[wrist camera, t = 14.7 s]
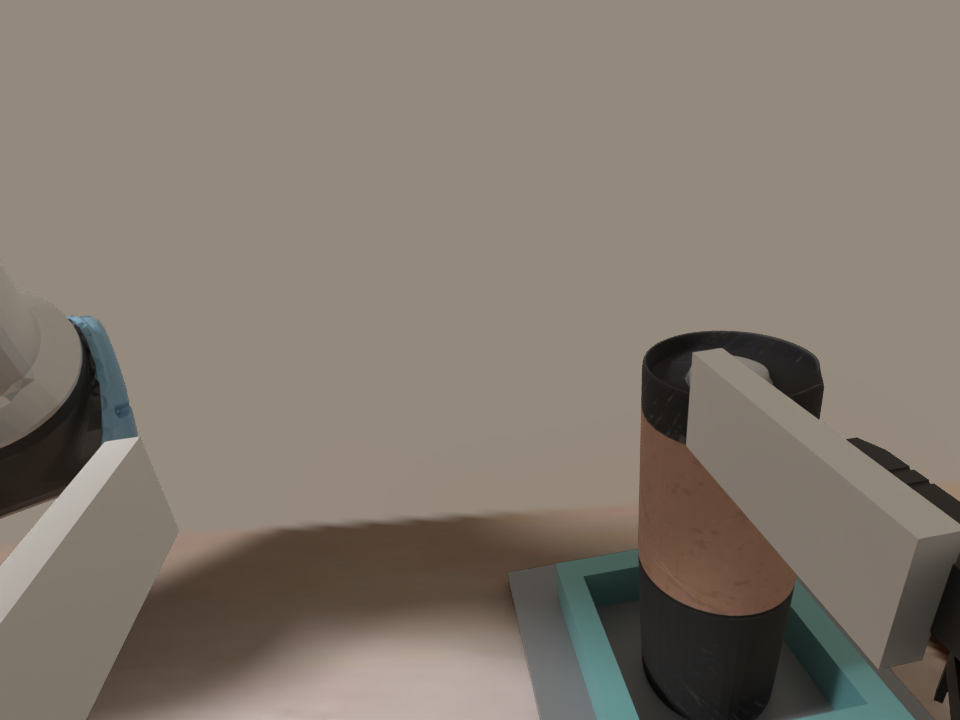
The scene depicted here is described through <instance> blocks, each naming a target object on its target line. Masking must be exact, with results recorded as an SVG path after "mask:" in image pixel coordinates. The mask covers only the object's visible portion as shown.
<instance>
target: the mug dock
mask: <svg viewBox="0 0 960 720" xmlns="http://www.w3.org/2000/svg"><path fill="white" fill-rule="evenodd" d="M508 579H509V585H510V590H511V594H512V599H513V603H514V607H515V612H516V616H517V621H518V625H519V629H520V634H521V638H522V643H523V647H524V651H525V656H526V660H527V665H528V669H529V673H530V678H531V682H532V687H533V691H534V695H535V700H536V704H537V709H538V713H539V717H540V720H688V719H686V718H684V717H682V716H680V715H679V714H677V713H676V712H674V711H673V710H671V709H670V708H669V707H668V706H666V705H665V704H664V703H663V702H662V701H661V700H660V699H659V697H658V696H657V695H656V694H655V692H654V691H653V689H652V688H651V686H650V684H649V682H648V680H647V678H646V675H645V672H644V669H643V664H642V652H641V626H640V594H639V562H638V549H635V550H630V551H624V552H618V553H613V554H607V555H601V556H596V557H590V558H585V559H579V560H573V561H568V562H562V563H556V564H552V565H546V566H541V567H535V568H529V569H524V570H518V571H513V572H508ZM754 720H935V719H934V718H933V717H932V716H931V715H930V714H929V712H928V711H927V710H926V709H925V708H924V707H923V706H922V704H921V703H920V702H919V701H918V700H917V699H916V698H915V697H914V695H913V694H912V693H911V692H910V691H909V690H908V689H907V687H906V686H905V685H904V684H903V683H902V682H901V681H900V679H899V678H898V677H897V676H896V675H895V674H894V673H893V672H892V670H891V669H890V668H889V667H888V668H883V669H878V668H877V667H876V666H875V665H874V664H873V662H872V661H871V660H870V659H869V658H868V657H867V655H866V654H865V653H864V652H863V651H862V650H861V648H860V647H859V646H858V645H857V644H856V643H855V641H854V640H853V639H852V638H851V637H850V636H849V635H848V633H847V632H846V631H845V630H844V629H843V628H842V626H841V625H840V624H839V623H838V622H837V621H836V619H835V618H834V617H833V616H832V615H831V614H830V612H829V611H828V610H827V609H826V608H825V607H824V606H823V604H822V603H821V602H820V601H819V600H818V599H817V597H816V596H815V595H814V594H813V593H812V592H811V590H810V589H809V588H808V587H807V586H806V585H805V583H804V582H803V581H802V580H801V579H800V578H799V576H798V575H796V581H795V587H794V591H793V596H792V601H791V605H790V610H789V615H788V620H787V624H786V629H785V634H784V639H783V643H782V648H781V653H780V657H779V662H778V667H777V672H776V676H775V680H774V685H773V689H772V693H771V696H770V700H769V702H768V704H767V706H766V707H765V709H764V710H763V712H762V713H761V714H760V715H759V716H758V717H757V718H755V719H754Z"/></svg>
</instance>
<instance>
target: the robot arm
mask: <svg viewBox="0 0 960 720" xmlns="http://www.w3.org/2000/svg"><path fill="white" fill-rule="evenodd" d="M686 446H687V448H688V449H689V450H690V451H691V452H692V453H693V455H694V456H695V457H696V458H697V459H698V460H699V462H700V463H701V464H702V465H703V466H704V467H705V469H706V470H707V471H708V472H709V473H710V474H711V475H712V477H713V478H714V479H715V480H716V481H717V482H718V484H719V485H720V486H721V487H722V488H723V489H724V491H725V492H726V493H727V494H728V495H729V496H730V498H731V499H732V500H733V501H734V502H735V503H736V504H737V506H738V507H739V508H740V509H741V510H742V511H743V513H744V514H745V515H746V516H747V517H748V518H749V520H750V521H751V522H752V523H753V524H754V525H755V527H756V528H757V529H758V530H759V531H760V532H761V534H762V535H763V536H764V537H765V538H766V539H767V540H768V542H769V543H770V544H771V545H772V546H773V547H774V549H775V550H776V551H777V552H778V553H779V554H780V556H781V557H782V558H783V559H784V560H785V561H786V563H787V564H788V565H789V566H790V567H791V568H792V570H793V571H794V572H795V573H796V574H797V575H798V576H799V578H800V579H801V580H802V581H803V582H804V583H805V585H806V586H807V587H808V588H809V589H810V590H811V592H812V593H813V594H814V595H815V596H816V597H817V599H818V600H819V601H820V602H821V603H822V604H823V606H824V607H825V608H826V609H827V610H828V611H829V612H830V614H831V615H832V616H833V617H834V618H835V619H836V621H837V622H838V623H839V624H840V625H841V626H842V628H843V629H844V630H845V631H846V632H847V633H848V635H849V636H850V637H851V638H852V639H853V640H854V641H855V643H856V644H857V645H858V646H859V647H860V648H861V650H862V651H863V652H864V653H865V654H866V655H867V657H868V658H869V659H870V660H871V661H872V662H873V664H874V665H875V666H876V667H877V668H878V669H883V668H888V667H892V666H897V665H902V664H907V663H911V662H916V661H921V660H922V658H923V655H924V653H925V650H926V647H927V644H928V641H929V638H930V635H931V634H932V635H933V636H934V637H936V638H937V639H938V640H939V641H940V642H941V643H942V644H943V645H944V646H945V647H946V648H947V649H948V650H949V651H950V655H949V657H948V660H947V662H946V665H945V668H944V670H943V673H942V676H941V678H940V681H939V684H938V686H937V689H936V693H935V697H934V700H935V701H938V702H940V703H943V701H944V698H945V696H946V693H947V692H948V695H949V705H950V714H951V720H960V502H959V501H958V500H957V499H955V498H954V497H952V496H951V495H949V494H948V493H947V492H945V491H944V490H942V489H941V488H939V487H938V486H937V485H935V484H930V483H929V480H928V479H927V478H925V477H924V476H922V475H921V474H919V473H918V472H917V471H915V470H910V468H909V466H908V465H907V464H905V463H904V462H902V461H901V460H900V459H898V458H897V457H895V456H894V455H892V454H891V453H890V452H888V451H886V450H885V449H882V448H880V447H878V446H875V445H873V444H871V443H868V442H866V441H863V440H861V439H859V438H851V439H844V438H843V437H841V436H840V435H839V434H838V433H836V432H835V431H833V430H832V429H831V428H829V427H828V426H827V425H825V424H824V423H823V422H821V421H820V420H819V419H817V418H816V417H815V416H813V415H812V414H811V413H809V412H808V411H806V410H805V409H804V408H802V407H801V406H800V405H798V404H797V403H796V402H794V401H793V400H792V399H790V398H789V397H788V396H786V395H785V394H784V393H782V392H781V391H779V390H778V389H777V388H775V387H774V386H773V385H771V384H770V383H769V382H767V381H766V380H765V379H763V378H762V377H761V376H759V375H758V374H756V373H755V372H754V371H752V370H751V369H750V368H748V367H747V366H746V365H744V364H743V363H742V362H740V361H739V360H738V359H736V358H735V357H734V356H732V355H731V354H729V353H728V352H727V351H725V350H724V349H723V348H718V349H712V350H705V351H699V352H693V354H692V368H691V382H690V396H689V410H688V424H687V438H686ZM55 498H57V499H56V501H55V502H54V503H53V504H52V505H51V506H50V508H49V509H48V510H47V511H46V512H45V514H44V515H43V516H42V517H41V519H40V520H39V521H38V522H37V523H36V524H35V525H34V527H33V528H32V529H31V530H30V531H29V533H28V534H27V535H26V536H25V537H24V539H23V540H22V541H21V542H20V543H19V545H18V546H17V547H16V548H15V549H14V550H13V552H12V553H11V554H10V555H9V556H8V558H7V559H6V560H5V561H4V562H3V564H2V565H1V566H0V720H86V719H87V717H88V715H89V713H90V711H91V709H92V707H93V705H94V703H95V701H96V699H97V697H98V695H99V693H100V691H101V689H102V687H103V685H104V682H105V680H106V678H107V676H108V674H109V672H110V670H111V668H112V666H113V664H114V662H115V660H116V658H117V656H118V654H119V652H120V650H121V648H122V646H123V644H124V642H125V640H126V638H127V636H128V634H129V632H130V630H131V628H132V626H133V624H134V621H135V619H136V617H137V615H138V613H139V611H140V609H141V607H142V605H143V603H144V601H145V599H146V597H147V595H148V593H149V591H150V589H151V587H152V585H153V583H154V581H155V579H156V577H157V575H158V573H159V571H160V569H161V567H162V565H163V563H164V560H165V558H166V556H167V554H168V552H169V550H170V548H171V546H172V544H173V542H174V540H175V538H176V536H177V534H178V532H179V529H178V527H177V524H176V522H175V519H174V517H173V515H172V512H171V510H170V507H169V505H168V502H167V500H166V498H165V495H164V493H163V491H162V489H161V486H160V483H159V481H158V478H157V476H156V474H155V471H154V469H153V466H152V464H151V461H150V459H149V457H148V454H147V452H146V449H145V447H144V445H143V442H142V440H141V437H138V432H137V428H136V423H135V419H134V416H133V412H132V409H131V407H130V406H129V399H128V395H127V389H126V386H125V382H124V379H123V376H122V373H121V370H120V367H119V364H118V361H117V358H116V355H115V352H114V350H113V347H112V344H111V342H110V339H109V337H108V335H107V333H106V330H105V328H104V326H103V325H102V324H101V322H100V321H99V320H97V319H95V318H93V317H91V316H82V317H76V316H67V317H66V316H65V315H64V314H63V312H62V311H60V310H59V309H58V308H57V307H55V306H54V305H53V304H51V303H49V302H48V301H46V300H44V299H42V298H40V297H38V296H35V295H33V294H31V293H28V292H24V291H21V290H18V289H17V287H16V286H15V284H14V282H13V281H12V279H11V277H10V276H9V274H8V272H7V271H6V269H5V267H4V266H3V264H2V262H1V261H0V519H1V518H3V517H6V516H9V515H12V514H15V513H17V512H20V511H23V510H25V509H28V508H31V507H34V506H36V505H39V504H42V503H44V502H47V501H50V500H53V499H55Z"/></svg>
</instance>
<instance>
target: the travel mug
mask: <svg viewBox="0 0 960 720" xmlns="http://www.w3.org/2000/svg"><path fill="white" fill-rule="evenodd" d="M718 348H723V349H724V350H725V351H727V352H728V353H729V354H731V355H732V356H734V357H735V358H736V359H738V360H739V361H740V362H742V363H743V364H744V365H746V366H747V367H748V368H750V369H751V370H752V371H754V372H755V373H756V374H758V375H759V376H761V377H762V378H763V379H765V380H766V381H767V382H769V383H770V384H771V385H773V386H774V387H775V388H777V389H778V390H779V391H781V392H782V393H784V394H785V395H786V396H788V397H789V398H790V399H792V400H793V401H794V402H796V403H797V404H798V405H800V406H801V407H802V408H804V409H805V410H806V411H808V412H809V413H811V414H812V415H813V416H815V417H816V418H817V419H819V418H820V412H821V405H822V398H823V391H824V384H823V380H822V376H821V371H820V364H819V361H818V359H817V357H816V356H815V355H814V354H813V353H811V352H809V351H808V350H806V349H804V348H803V347H800V346H798V345H796V344H794V343H791V342H788V341H785V340H782V339H779V338H775V337H771V336H767V335H762V334H756V333H748V332H738V331H702V332H694V333H687V334H682V335H678V336H674V337H671V338H668V339H666V340H663V341H661V342H659V343H657V344H655V345H654V346H653V347H651V348H650V349H649V350H648V351H647V353H646V355H645V356H644V360H643V365H642V397H641V442H640V443H641V444H640V485H639V486H640V487H639V488H640V489H639V528H638V562H639V594H640V626H641V652H642V664H643V669H644V672H645V675H646V678H647V680H648V682H649V684H650V686H651V688H652V689H653V691H654V692H655V694H656V695H657V696H658V697H659V699H660V700H661V701H662V702H663V703H664V704H665V705H666V706H668V707H669V708H670V709H671V710H673V711H674V712H676V713H677V714H679V715H680V716H682V717H684V718H686V719H688V720H754V719H755V718H757V717H758V716H759V715H760V714H761V713H762V712H763V710H764V709H765V707H766V706H767V704H768V702H769V700H770V696H771V693H772V689H773V685H774V680H775V676H776V672H777V667H778V662H779V657H780V653H781V648H782V643H783V639H784V634H785V629H786V624H787V620H788V615H789V610H790V605H791V601H792V596H793V591H794V587H795V581H796V575H797V574H796V573H795V572H794V571H793V570H792V568H791V567H790V566H789V565H788V564H787V563H786V561H785V560H784V559H783V558H782V557H781V556H780V554H779V553H778V552H777V551H776V550H775V549H774V547H773V546H772V545H771V544H770V543H769V542H768V540H767V539H766V538H765V537H764V536H763V535H762V534H761V532H760V531H759V530H758V529H757V528H756V527H755V525H754V524H753V523H752V522H751V521H750V520H749V518H748V517H747V516H746V515H745V514H744V513H743V511H742V510H741V509H740V508H739V507H738V506H737V504H736V503H735V502H734V501H733V500H732V499H731V498H730V496H729V495H728V494H727V493H726V492H725V491H724V489H723V488H722V487H721V486H720V485H719V484H718V482H717V481H716V480H715V479H714V478H713V477H712V475H711V474H710V473H709V472H708V471H707V470H706V469H705V467H704V466H703V465H702V464H701V463H700V462H699V460H698V459H697V458H696V457H695V456H694V455H693V453H692V452H691V451H690V450H689V449H688V448H687V446H686V438H687V424H688V410H689V396H690V382H691V368H692V354H693V352H699V351H705V350H712V349H718Z"/></svg>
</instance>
